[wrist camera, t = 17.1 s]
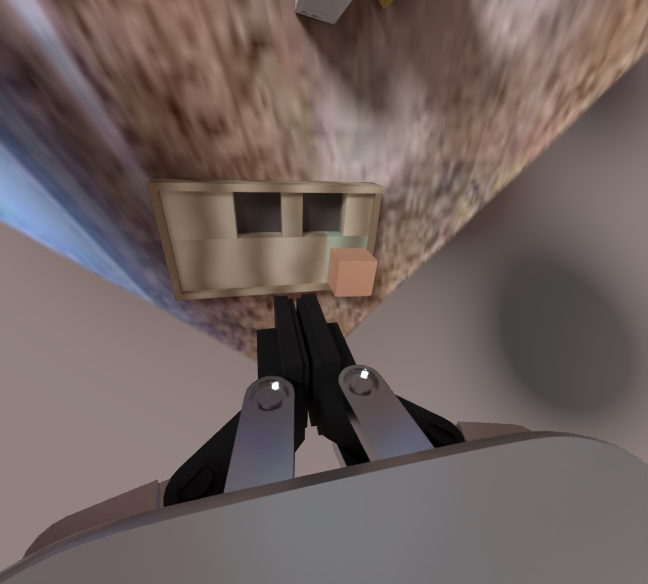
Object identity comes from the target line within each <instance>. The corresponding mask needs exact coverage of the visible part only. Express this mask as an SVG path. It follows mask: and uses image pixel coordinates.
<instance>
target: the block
mask: <svg viewBox="0 0 648 584" xmlns="http://www.w3.org/2000/svg"><path fill="white" fill-rule="evenodd" d="M377 264H378V260H377V259H376V258H375V257H374V256H373V255H372V254H371V253H370V252H369V251H368V250H367V249H366V248H330V258H329V268H328V277H327V282H328V284H329V286H330V288H331V290H332V292H333V294H334V296H335V297H350V296H371V294H372V289H373V284H374V279H375V274H376V269H377Z"/></svg>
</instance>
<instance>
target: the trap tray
mask: <svg viewBox="0 0 648 584" xmlns="http://www.w3.org/2000/svg"><path fill="white" fill-rule="evenodd" d="M147 187H148V191H149V195H150V199H151V203H152V207H153V211H154V215H155V219H156V223H157V227H158V231H159V235H160V239H161V243H162V247H163V251H164V255H165V259H166V263H167V267H168V271H169V275H170V279H171V283H172V287H173V291H174V295H175V299H176V300H189V299H204V298H219V297H234V296H249V295H264V294H279V293H294V292H308V291H323V290H331V288H330V286H329V284H328V282H327V277H328V268H329V258H330V248H366V249H367V250H368V251H369V252H370V253H371V254H372V255H373V254H374V247H375V240H376V234H377V227H378V220H379V213H380V206H381V199H382V192H383V186H380V185H378V184H376V183H370V182H320V181H271V180H222V179H172V178H155V179H153V180H151V181H149V182H147Z"/></svg>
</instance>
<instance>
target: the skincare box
mask: <svg viewBox="0 0 648 584" xmlns="http://www.w3.org/2000/svg"><path fill="white" fill-rule="evenodd" d="M351 1H352V0H295V12H296V13H300V14H303V15H306V16H309V17H312V18H315V19H318V20H321V21H324V22H327V23H330V24H335V23H336V21H337V20H338V19H339V17H340V16H341V15H342V13H343V12H344V11H345V9H346V8H347V7H348V5H349V4H350V3H351Z"/></svg>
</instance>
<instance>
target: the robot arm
mask: <svg viewBox="0 0 648 584" xmlns="http://www.w3.org/2000/svg"><path fill="white" fill-rule="evenodd" d="M274 312H275V328H271V329H260V330H257V358H258V380H256V381H255V382H253V383H252V384H251V385H250V386H249V388H248V389H247V391H246V393H245V396H244V401H243V405H242V410H241V411H239V412H238V413H237V414H236V415H235V416H234V417H233V418H232V419H231V420H230V421H229V422H228V423H227V424H226V425H225V426H223V427H222V428H221V429H220V430H219V431H218V432H217V433H216V434H215V435H214V436H213V437H212V438H211V439H210V440H209V441H207V442H206V443H205V444H204V445H203V446H202V447H201V448H200V449H199V450H198V451H197V452H196V453H195V454H194V455H193V456H192V457H190V458H189V459H188V460H187V461H186V462H185V463H184V464H183V465H182V466H181V467H180V468H179V469H178V470H177V471H176V472H175V474H174V475H173V476H172V477H171V478H170V479H168V480H165V481H163V482H161V483H158V480H155V481H152V482H150V483H148V484H145V485H143V486H140V487H138V488H135V489H133V490H130V491H128V492H126V493H123V494H120V495H118V496H115V497H113V498H110V499H108V500H106V501H103V502H101V503H98V504H96V505H93V506H91V507H88V508H86V509H83V510H81V511H79V512H76V513H73V514H71V515H69V516H66V517H64V518H63V519H61V520H59V521H57V522H55V523H54V524H52V525H51V526H50V527H48V528H47V529H46V530H45V531H44V532H42V533H41V534H40V535H39V536H38V537H37V538H36V540H35V541H34V542H33V543H32V544H31V546H30V547H29V548H28V549H27V550H26V552H25V554H24V556H23V558H22V559H21V560H19V561H18V562H16V563H14V564H13V565H11V566H9V567H7V568H6V569H4V570H3V571H1V572H0V584H648V464H647V463H645V462H644V461H642V460H641V459H639V458H638V457H636V456H635V455H633V454H631V453H630V452H628V451H627V450H625V449H623V448H621V447H619V446H617V445H614V444H612V443H609V442H606V441H603V440H601V439H597V438H593V437H589V436H584V435H579V434H574V433H568V432H555V431H531V430H529V429H527V428H525V427H523V426H520V425H514V424H499V423H479V422H459V421H458V423H457V425H454V424H453V423H451V422H450V421H448V420H446V419H445V418H443V417H441V416H438V415H436V414H434V413H432V412H430V411H428V410H426V409H424V408H422V407H420V406H418V405H416V404H414V403H412V402H410V401H407V400H405V399H403V398H401V397H399V396H397V395H395V394H394V393H393V391H392V390H391V389H390V387H389V386H388V385H387V383H386V382H385V380H384V379H383V378H382V376H381V375H380V374H379V373H378V372H377V371H376V370H374V369H372V368H371V367H367V366H365V365H356V363H355V361H354V359H353V357H352V354H351V352H350V350H349V348H348V345H347V343H346V341H345V339H344V337H343V334H342V332H341V330H340V328H339V325H338V324H337V323H336V322H335V323H326V320H325V318H324V315H323V312H322V310H321V307H320V305H319V302H318V300H317V297H316V295H315V294H302V295H301V298H297V300H296V309H295V305H294V301H293V299H288V296H287V295H286V296H274ZM308 413H309V418H310V423H311V426H317V430H318V434H319V435H324V436H325V437H326V438H328V439H329V440H331V441H332V445H333V449H334V452H335V454H336V456H337V459H338V461H339V464H340V466H341V468H339V469H334V470H330V471H325V472H321V473H316V474H311V475H306V476H301V477H297V478H295V477H294V474H295V452H296V450H297V449H298V448H299V446H300V445H301V444H302V442H303V441H304V440H305V428H306V427H307V420H308Z"/></svg>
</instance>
